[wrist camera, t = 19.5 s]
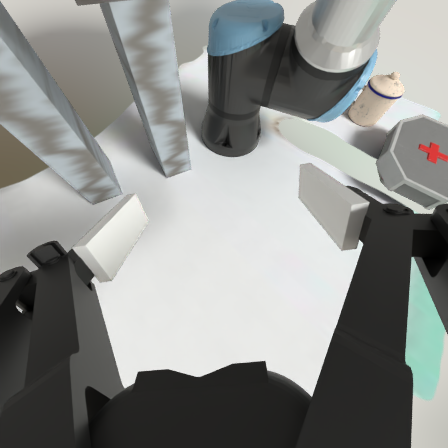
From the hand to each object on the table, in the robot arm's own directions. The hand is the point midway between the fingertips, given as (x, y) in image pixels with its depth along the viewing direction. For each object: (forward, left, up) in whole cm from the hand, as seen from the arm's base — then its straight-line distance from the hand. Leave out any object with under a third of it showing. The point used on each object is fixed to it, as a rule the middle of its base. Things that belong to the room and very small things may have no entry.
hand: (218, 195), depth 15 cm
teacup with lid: (-59, -20, -23) cm, 66 cm away
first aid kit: (-54, +2, -23) cm, 59 cm away
